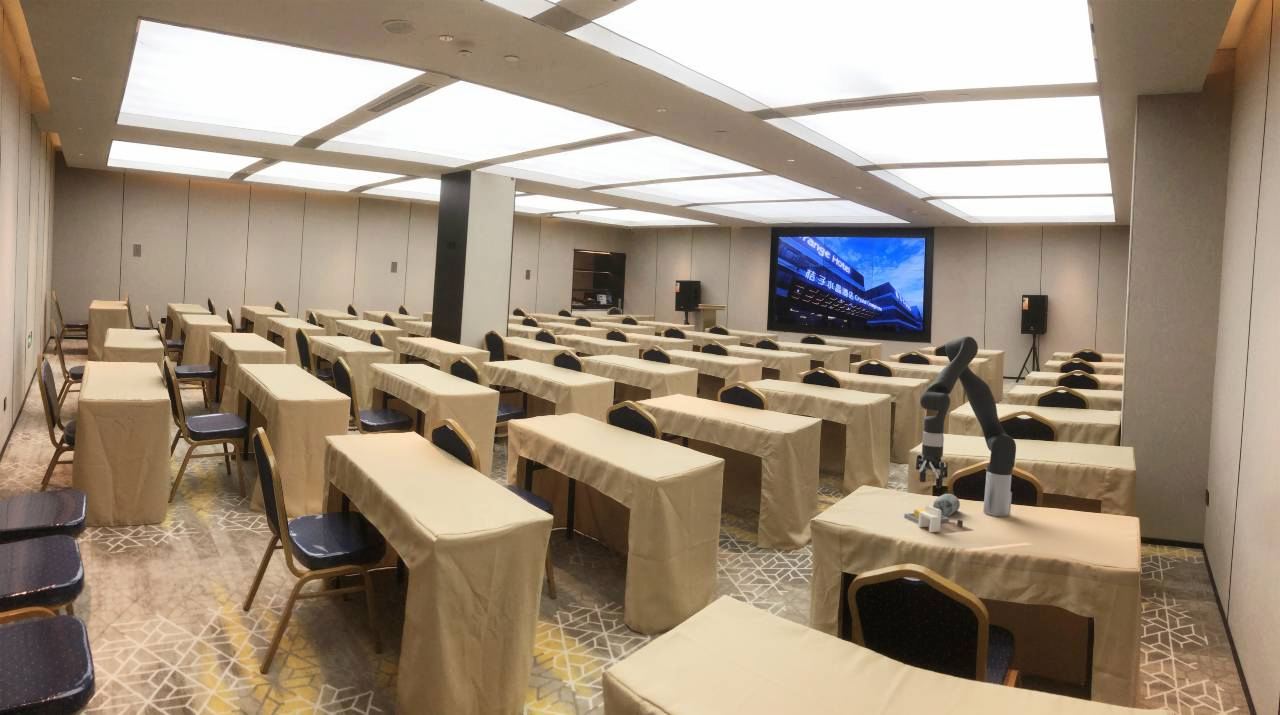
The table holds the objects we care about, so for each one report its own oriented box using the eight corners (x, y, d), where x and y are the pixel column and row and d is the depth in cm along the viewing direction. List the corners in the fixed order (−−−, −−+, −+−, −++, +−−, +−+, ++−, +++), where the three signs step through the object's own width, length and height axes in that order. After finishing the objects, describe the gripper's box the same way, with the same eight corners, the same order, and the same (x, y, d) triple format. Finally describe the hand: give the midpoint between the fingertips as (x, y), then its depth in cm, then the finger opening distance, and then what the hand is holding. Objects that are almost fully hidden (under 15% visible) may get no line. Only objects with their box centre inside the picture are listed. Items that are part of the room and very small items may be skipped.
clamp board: (954, 524, 281) (954, 515, 280) (973, 532, 271) (974, 523, 271) (916, 527, 275) (916, 519, 274) (935, 536, 265) (935, 527, 265)
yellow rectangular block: (932, 518, 286) (933, 507, 285) (938, 521, 282) (939, 510, 282) (913, 519, 283) (914, 509, 282) (920, 522, 279) (920, 512, 279)
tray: (931, 517, 289) (932, 511, 289) (948, 524, 280) (949, 518, 280) (904, 519, 284) (904, 513, 284) (920, 527, 276) (920, 521, 276)
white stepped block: (926, 525, 274) (928, 504, 273) (939, 531, 268) (941, 510, 267) (918, 526, 273) (919, 505, 272) (931, 532, 267) (932, 511, 266)
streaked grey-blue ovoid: (955, 514, 283) (947, 489, 287) (932, 519, 289) (924, 495, 293) (968, 515, 292) (960, 491, 296) (946, 521, 298) (938, 497, 302)
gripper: (912, 440, 284) (909, 481, 286) (938, 448, 271) (936, 490, 272) (927, 439, 287) (925, 479, 288) (954, 446, 274) (952, 488, 275)
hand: (930, 484), depth 280 cm, fingers open, 8 cm apart
